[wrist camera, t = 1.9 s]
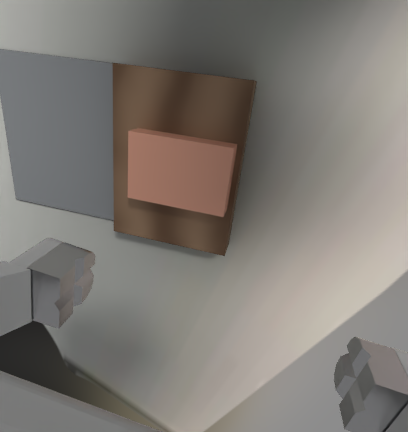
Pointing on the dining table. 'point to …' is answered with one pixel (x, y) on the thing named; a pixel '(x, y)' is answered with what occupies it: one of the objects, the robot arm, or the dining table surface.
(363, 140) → the dining table surface
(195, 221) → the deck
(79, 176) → the mat
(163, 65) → the dining table surface
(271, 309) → the dining table surface
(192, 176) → the salmon pink rectangular block
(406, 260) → the dining table surface
